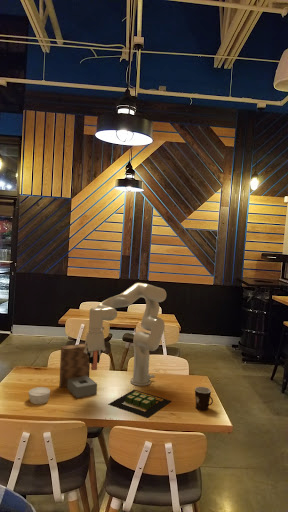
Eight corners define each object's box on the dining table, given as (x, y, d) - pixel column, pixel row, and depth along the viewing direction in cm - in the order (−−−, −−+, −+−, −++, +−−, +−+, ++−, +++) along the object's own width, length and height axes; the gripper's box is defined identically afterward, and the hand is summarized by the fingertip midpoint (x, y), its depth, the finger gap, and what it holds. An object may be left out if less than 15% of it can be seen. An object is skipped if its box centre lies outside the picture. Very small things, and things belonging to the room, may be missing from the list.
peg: (95, 367, 211) (96, 346, 211) (97, 369, 209) (98, 348, 208) (90, 368, 209) (91, 347, 209) (92, 370, 207) (93, 349, 206)
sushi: (171, 402, 208) (171, 395, 208) (147, 419, 187) (148, 412, 187) (134, 390, 222) (134, 384, 222) (108, 405, 201) (108, 398, 201)
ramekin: (30, 406, 194) (30, 396, 194) (26, 398, 204) (26, 388, 204) (52, 403, 199) (52, 393, 199) (47, 395, 209) (47, 385, 209)
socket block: (86, 385, 225) (86, 375, 225) (96, 394, 213) (97, 383, 213) (67, 388, 218) (67, 378, 218) (76, 398, 207) (77, 387, 206)
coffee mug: (192, 404, 205) (193, 386, 205) (207, 404, 206) (208, 386, 206) (197, 414, 194) (198, 395, 193) (213, 414, 195) (214, 395, 194)
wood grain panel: (87, 381, 231) (89, 343, 230) (91, 385, 226) (93, 345, 225) (59, 386, 221) (60, 346, 220) (63, 390, 216) (64, 349, 215)
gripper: (105, 327, 216) (104, 358, 217) (79, 330, 206) (77, 363, 207) (111, 330, 210) (110, 362, 210) (85, 333, 200) (83, 367, 201)
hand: (94, 362), depth 209 cm, fingers closed on peg, 3 cm apart
